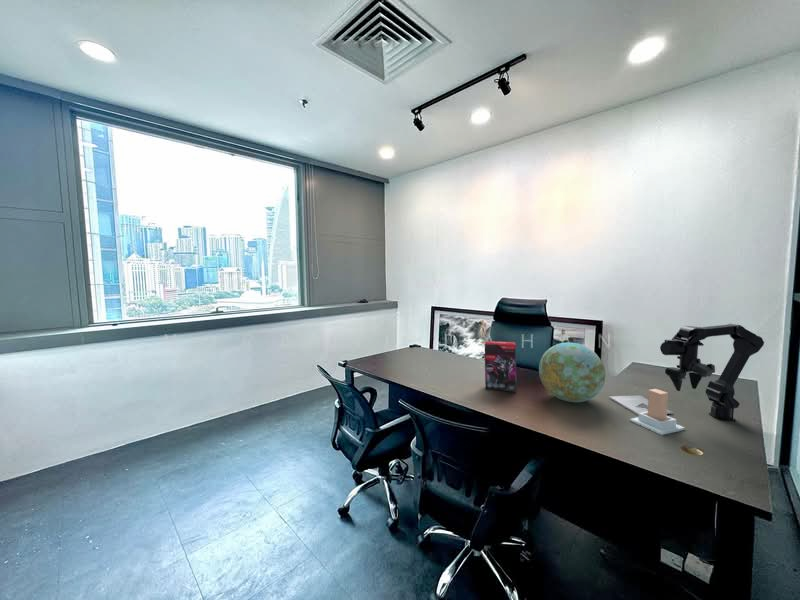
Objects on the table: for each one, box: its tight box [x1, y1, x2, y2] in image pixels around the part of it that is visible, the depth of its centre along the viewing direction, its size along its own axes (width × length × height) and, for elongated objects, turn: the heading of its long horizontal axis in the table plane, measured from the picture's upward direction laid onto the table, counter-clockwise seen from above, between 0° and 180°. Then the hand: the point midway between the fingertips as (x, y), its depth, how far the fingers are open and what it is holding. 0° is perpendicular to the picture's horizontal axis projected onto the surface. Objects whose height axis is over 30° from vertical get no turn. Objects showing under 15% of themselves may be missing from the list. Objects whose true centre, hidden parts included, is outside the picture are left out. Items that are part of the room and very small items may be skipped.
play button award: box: [608, 394, 674, 416], centre depth 157 cm, size 16×2×20 cm
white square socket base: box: [629, 411, 686, 436], centre depth 137 cm, size 13×13×4 cm
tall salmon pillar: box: [647, 388, 669, 421], centre depth 137 cm, size 4×5×14 cm
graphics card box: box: [484, 340, 517, 392], centre depth 183 cm, size 17×7×27 cm, turn 72°
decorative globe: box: [538, 341, 606, 403], centre depth 165 cm, size 30×30×30 cm
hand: (686, 389), depth 142 cm, fingers open, 9 cm apart
